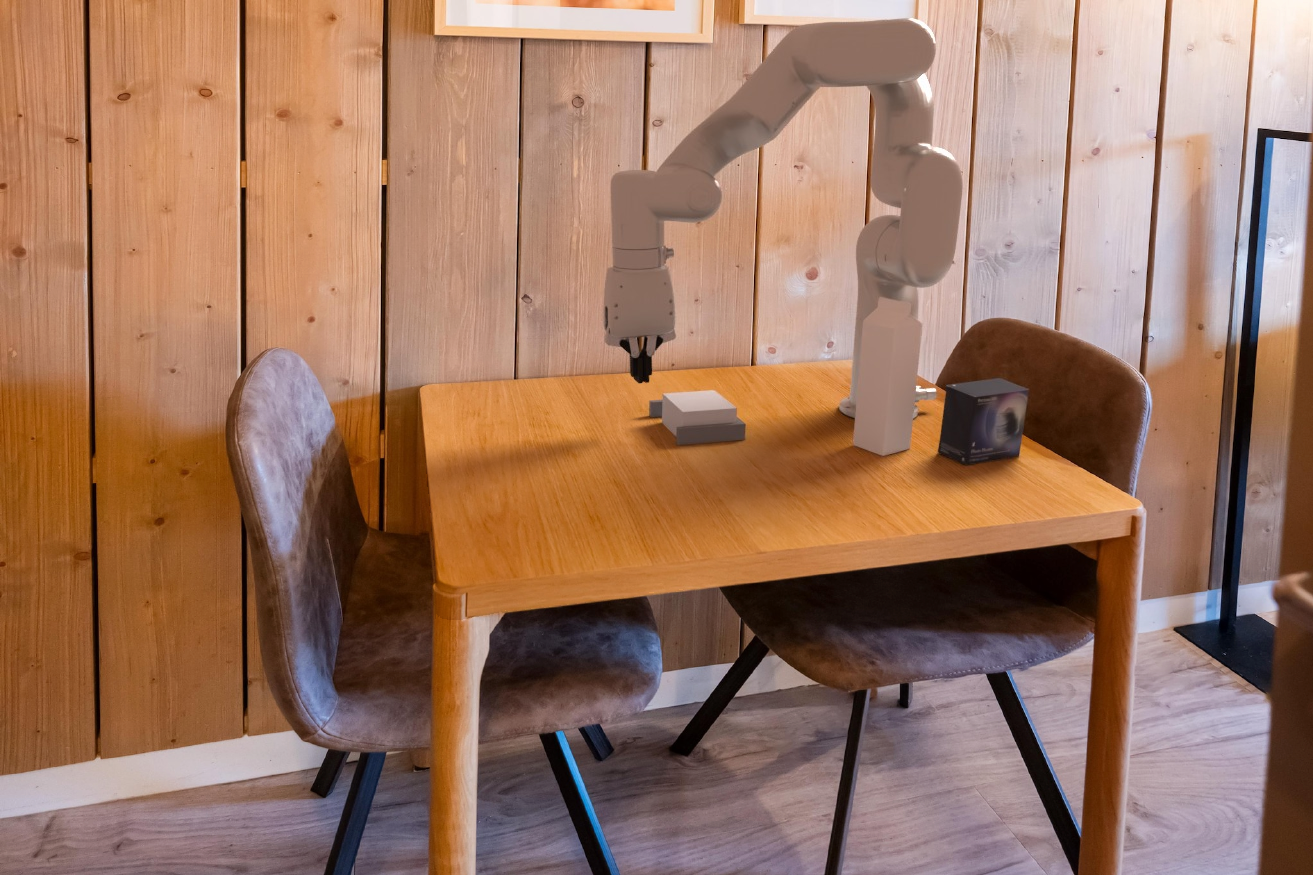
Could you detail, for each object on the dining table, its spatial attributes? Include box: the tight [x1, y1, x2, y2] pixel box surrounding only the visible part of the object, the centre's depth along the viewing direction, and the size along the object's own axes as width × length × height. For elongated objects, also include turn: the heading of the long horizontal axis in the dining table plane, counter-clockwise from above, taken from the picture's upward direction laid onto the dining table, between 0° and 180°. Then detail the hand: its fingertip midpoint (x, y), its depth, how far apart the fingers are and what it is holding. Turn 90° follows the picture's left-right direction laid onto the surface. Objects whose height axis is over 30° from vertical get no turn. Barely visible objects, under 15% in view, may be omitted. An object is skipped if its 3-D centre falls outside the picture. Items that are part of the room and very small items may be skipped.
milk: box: [852, 297, 923, 457], centre depth 155 cm, size 6×6×22 cm
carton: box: [661, 389, 738, 437], centre depth 164 cm, size 8×10×5 cm
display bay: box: [648, 399, 747, 446], centre depth 165 cm, size 10×15×2 cm
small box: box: [937, 377, 1030, 466], centre depth 154 cm, size 11×6×10 cm, turn 117°
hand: (641, 380), depth 161 cm, fingers closed
